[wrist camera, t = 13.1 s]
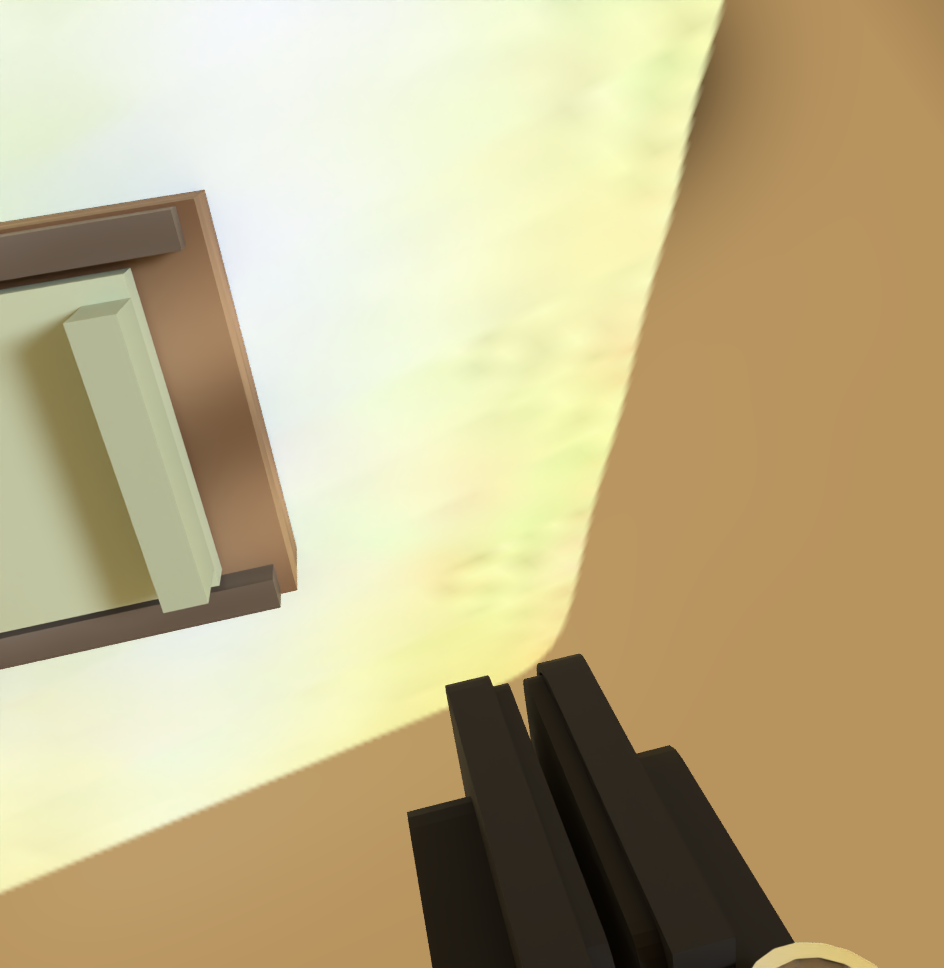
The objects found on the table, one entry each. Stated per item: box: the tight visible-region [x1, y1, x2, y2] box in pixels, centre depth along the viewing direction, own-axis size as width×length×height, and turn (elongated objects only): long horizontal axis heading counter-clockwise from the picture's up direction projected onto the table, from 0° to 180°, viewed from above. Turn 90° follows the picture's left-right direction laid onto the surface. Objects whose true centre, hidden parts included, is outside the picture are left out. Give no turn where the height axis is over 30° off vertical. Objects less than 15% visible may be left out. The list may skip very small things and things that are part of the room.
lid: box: [0, 268, 222, 633], centre depth 22 cm, size 9×8×3 cm
